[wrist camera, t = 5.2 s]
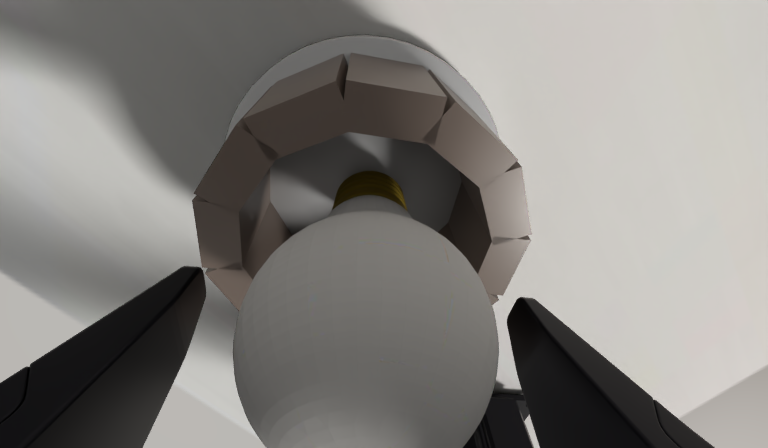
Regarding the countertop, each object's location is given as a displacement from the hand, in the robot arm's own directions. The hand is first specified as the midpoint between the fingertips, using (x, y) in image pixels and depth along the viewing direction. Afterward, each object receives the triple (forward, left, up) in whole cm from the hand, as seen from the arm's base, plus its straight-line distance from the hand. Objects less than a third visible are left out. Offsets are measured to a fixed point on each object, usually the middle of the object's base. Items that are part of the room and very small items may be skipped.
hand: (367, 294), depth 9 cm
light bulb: (0, 0, -6) cm, 6 cm away
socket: (0, 0, -6) cm, 6 cm away
